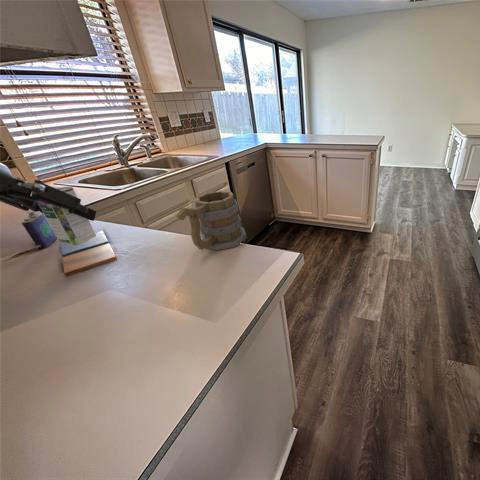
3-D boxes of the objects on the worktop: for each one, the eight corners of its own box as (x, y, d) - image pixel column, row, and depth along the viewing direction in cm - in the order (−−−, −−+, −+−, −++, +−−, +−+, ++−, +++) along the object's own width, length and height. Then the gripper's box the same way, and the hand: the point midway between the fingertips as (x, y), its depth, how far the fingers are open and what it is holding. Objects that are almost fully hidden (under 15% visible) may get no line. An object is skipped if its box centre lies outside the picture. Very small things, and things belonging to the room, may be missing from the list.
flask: (49, 237, 88) (31, 207, 82) (60, 235, 89) (43, 205, 83) (36, 250, 80) (15, 218, 75) (48, 248, 81) (28, 216, 76)
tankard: (222, 228, 88) (211, 185, 81) (253, 233, 84) (245, 188, 77) (173, 259, 72) (155, 208, 65) (209, 267, 68) (194, 213, 61)
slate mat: (61, 245, 82) (60, 242, 82) (104, 233, 89) (102, 230, 89) (63, 257, 75) (61, 254, 75) (109, 243, 82) (108, 241, 81)
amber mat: (63, 260, 74) (62, 257, 74) (110, 246, 81) (109, 243, 80) (66, 276, 67) (64, 273, 66) (117, 259, 73) (115, 256, 73)
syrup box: (59, 244, 69) (28, 191, 62) (82, 234, 74) (55, 183, 67) (76, 246, 67) (46, 191, 61) (98, 236, 72) (72, 184, 66)
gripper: (23, 151, 50) (118, 202, 72) (-73, 155, 51) (50, 204, 73) (11, 187, 48) (112, 228, 70) (-90, 190, 49) (42, 230, 71)
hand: (80, 216), depth 71 cm, fingers closed on syrup box, 6 cm apart
